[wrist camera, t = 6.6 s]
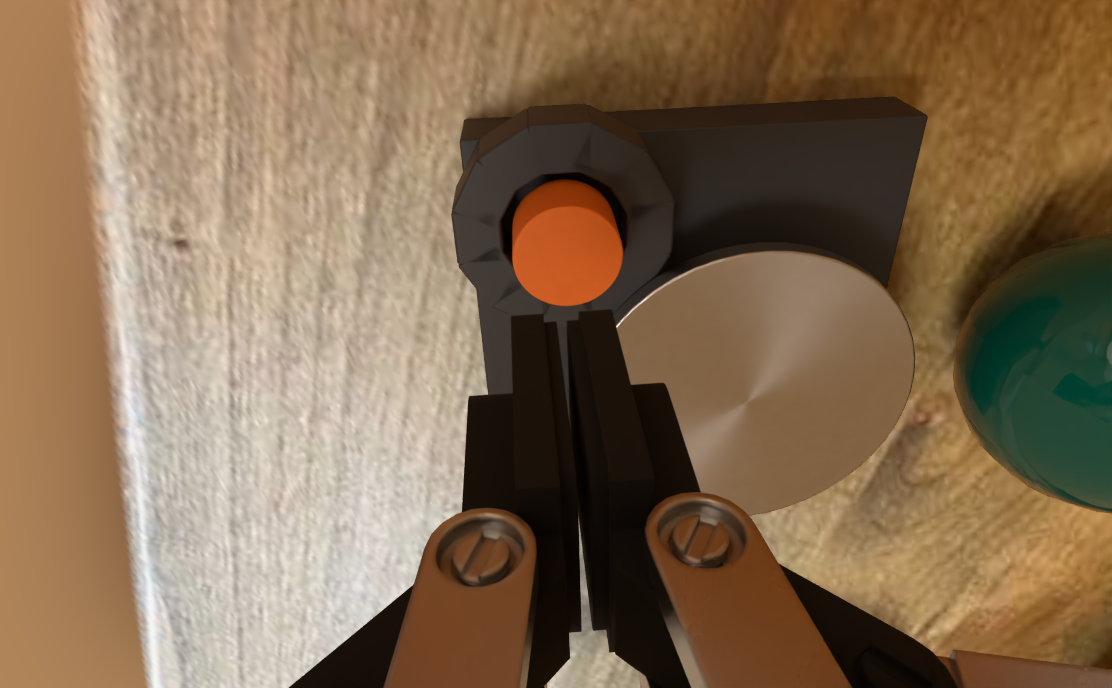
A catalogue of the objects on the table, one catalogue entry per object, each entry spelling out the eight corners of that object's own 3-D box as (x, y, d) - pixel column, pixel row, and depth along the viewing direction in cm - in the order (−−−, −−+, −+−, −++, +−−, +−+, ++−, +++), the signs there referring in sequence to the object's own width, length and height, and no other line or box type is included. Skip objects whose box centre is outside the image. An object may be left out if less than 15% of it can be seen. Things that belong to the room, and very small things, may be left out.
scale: (492, 450, 26) (490, 522, 23) (451, 91, 19) (440, 129, 16) (824, 429, 27) (863, 498, 24) (902, 67, 20) (970, 101, 17)
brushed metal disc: (583, 514, 23) (584, 527, 23) (576, 251, 18) (578, 262, 18) (870, 495, 24) (877, 509, 23) (943, 230, 18) (955, 240, 18)
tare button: (516, 276, 19) (516, 309, 18) (508, 181, 18) (508, 209, 16) (614, 270, 19) (622, 303, 18) (614, 175, 18) (624, 202, 16)
